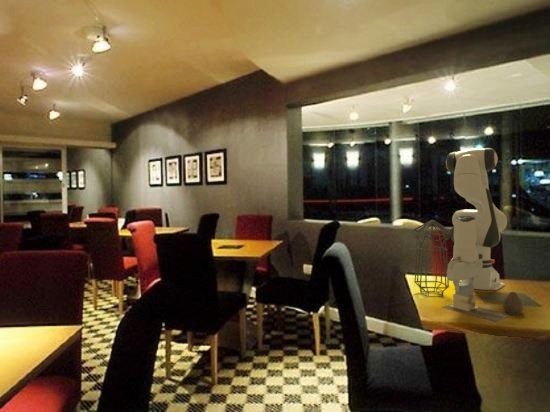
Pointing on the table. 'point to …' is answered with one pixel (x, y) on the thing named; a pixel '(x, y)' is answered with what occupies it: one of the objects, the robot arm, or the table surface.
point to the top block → (465, 290)
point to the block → (464, 301)
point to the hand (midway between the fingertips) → (464, 289)
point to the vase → (513, 304)
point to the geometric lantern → (442, 228)
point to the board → (480, 312)
